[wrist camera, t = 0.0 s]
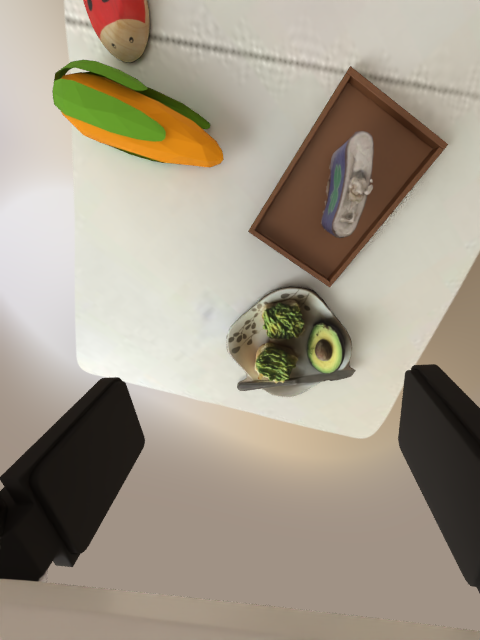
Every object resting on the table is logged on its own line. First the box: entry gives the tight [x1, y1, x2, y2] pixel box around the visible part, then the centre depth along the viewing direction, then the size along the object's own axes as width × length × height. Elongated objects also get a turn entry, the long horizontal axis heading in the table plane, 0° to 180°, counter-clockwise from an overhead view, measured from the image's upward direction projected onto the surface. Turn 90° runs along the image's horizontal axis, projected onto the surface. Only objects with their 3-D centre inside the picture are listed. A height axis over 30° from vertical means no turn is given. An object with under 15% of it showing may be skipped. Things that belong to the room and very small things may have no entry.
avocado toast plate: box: [227, 287, 356, 397], centre depth 41 cm, size 19×18×5 cm
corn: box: [53, 60, 223, 167], centre depth 30 cm, size 7×8×20 cm
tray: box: [248, 67, 448, 287], centre depth 33 cm, size 19×13×2 cm
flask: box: [321, 131, 374, 238], centre depth 29 cm, size 9×3×11 cm, turn 177°
